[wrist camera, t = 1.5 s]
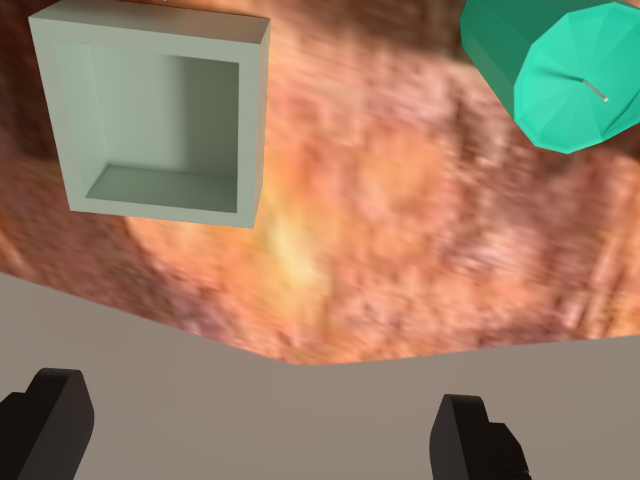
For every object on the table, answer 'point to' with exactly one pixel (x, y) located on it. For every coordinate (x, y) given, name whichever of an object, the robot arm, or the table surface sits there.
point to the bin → (156, 108)
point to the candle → (559, 65)
